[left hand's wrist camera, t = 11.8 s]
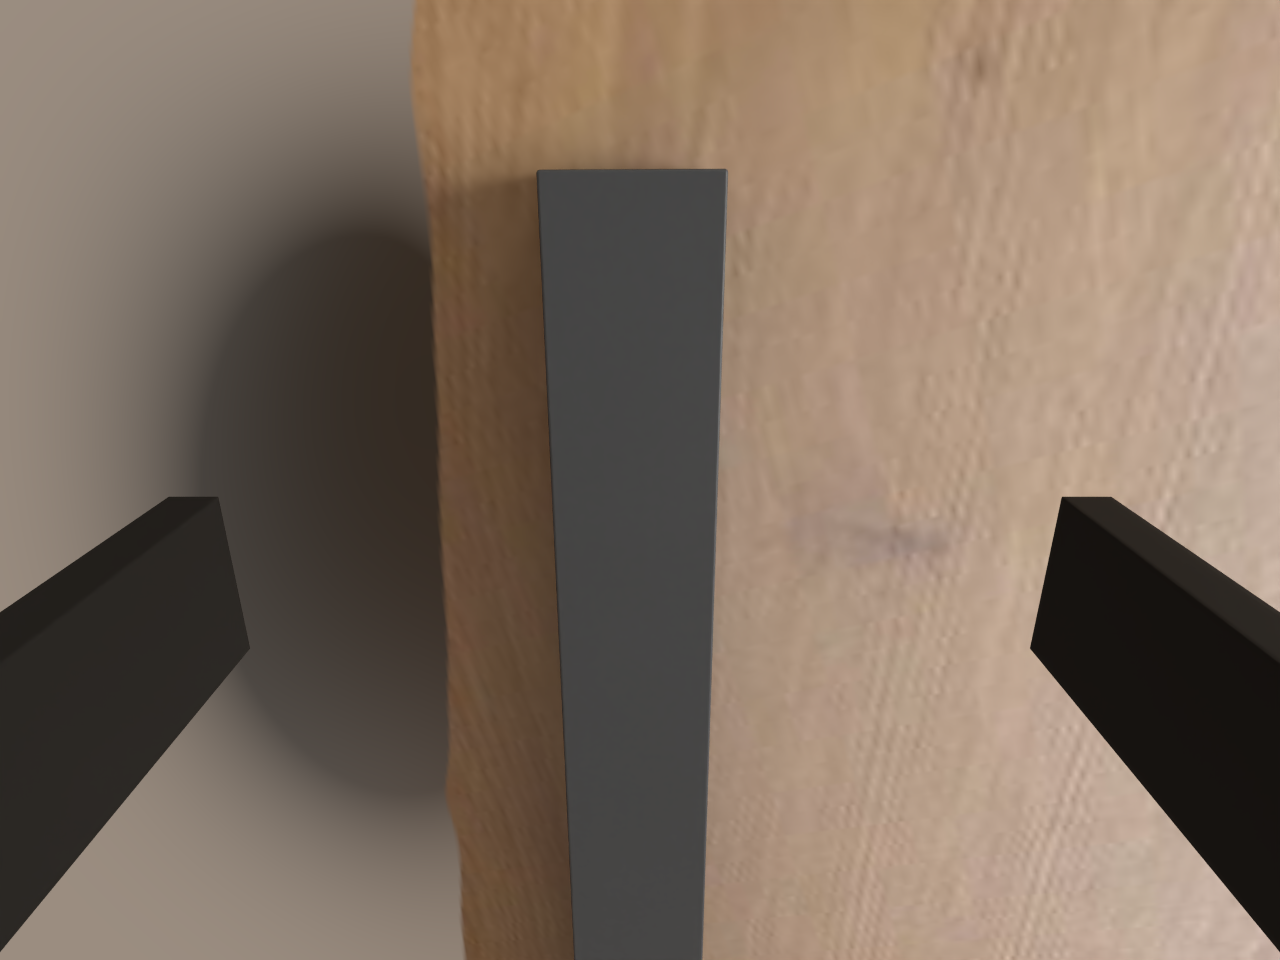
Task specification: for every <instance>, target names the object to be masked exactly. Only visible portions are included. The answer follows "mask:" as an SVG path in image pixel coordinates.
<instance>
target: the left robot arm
mask: <svg viewBox="0 0 1280 960" xmlns="http://www.w3.org/2000/svg"><path fill="white" fill-rule="evenodd" d="M249 649H250V646H249V642H248V637H247V632H246V627H245V623H244V618H243V613H242V609H241V604H240V599H239V594H238V589H237V585H236V580H235V575H234V570H233V565H232V561H231V556H230V551H229V547H228V542H227V537H226V532H225V528H224V523H223V518H222V513H221V509H220V504H219V499H218V497H168V498H167V499H165V500H164V501H162V502H161V503H159V504H158V505H156V506H155V507H153V508H152V509H150V510H149V511H147V512H146V513H145V514H143V515H142V516H140V517H139V518H137V519H136V520H134V521H133V522H131V523H130V524H129V525H127V526H126V527H124V528H123V529H121V530H120V531H118V532H117V533H115V534H114V535H113V536H111V537H110V538H108V539H107V540H105V541H104V542H102V543H101V544H99V545H98V546H96V547H95V548H94V549H92V550H91V551H89V552H88V553H86V554H85V555H83V556H82V557H80V558H79V559H77V560H76V561H75V562H73V563H72V564H70V565H69V566H67V567H66V568H64V569H63V570H61V571H60V572H58V573H57V574H55V575H54V576H53V577H51V578H50V579H48V580H47V581H45V582H44V583H42V584H41V585H39V586H38V587H37V588H35V589H34V590H32V591H31V592H29V593H28V594H26V595H25V596H23V597H22V598H20V599H19V600H17V601H16V602H15V603H13V604H12V605H10V606H9V607H7V608H6V609H4V610H3V611H1V612H0V951H1V950H2V949H3V948H4V947H5V945H6V944H7V943H8V942H9V940H10V939H11V938H12V937H13V936H14V934H15V933H16V932H17V931H18V930H19V928H20V927H21V926H22V925H23V924H24V922H25V921H26V920H27V919H28V917H29V916H30V915H31V914H32V913H33V911H34V910H35V909H36V908H37V906H38V905H39V904H40V903H41V902H42V900H43V899H44V898H45V897H46V896H47V894H48V893H49V892H50V891H51V889H52V888H53V887H54V886H55V885H56V883H57V882H58V881H59V880H60V879H61V877H62V876H63V875H64V874H65V872H66V871H67V870H68V869H69V868H70V866H71V865H72V864H73V863H74V862H75V860H76V859H77V858H78V857H79V855H80V854H81V853H82V852H83V851H84V849H85V848H86V847H87V846H88V844H89V843H90V842H91V841H92V840H93V838H94V837H95V836H96V835H97V833H98V832H99V831H100V830H101V829H102V828H103V826H104V825H105V824H106V823H107V821H108V820H109V819H110V818H111V817H112V815H113V814H114V813H115V812H116V810H117V809H118V808H119V807H120V806H121V804H122V803H123V802H124V801H125V800H126V798H127V797H128V796H129V795H130V793H131V792H132V791H133V790H134V789H135V787H136V786H137V785H138V784H139V783H140V781H141V780H142V779H143V778H144V776H145V775H146V774H147V773H148V772H149V770H150V769H151V768H152V767H153V766H154V764H155V763H156V762H157V761H158V759H159V758H160V757H161V756H162V755H163V753H164V752H165V751H166V750H167V748H168V747H169V746H170V745H171V744H172V742H173V741H174V740H175V739H176V738H177V736H178V735H179V734H180V733H181V731H182V730H183V729H184V728H185V727H186V725H187V724H188V723H189V722H190V720H191V719H192V718H193V717H194V716H195V714H196V713H197V712H198V711H199V710H200V708H201V707H202V706H203V705H204V704H205V702H206V701H207V700H208V699H209V697H210V696H211V695H212V694H213V693H214V691H215V690H216V689H217V688H218V687H219V685H220V684H221V683H222V682H223V680H224V679H225V678H226V677H227V676H228V674H229V673H230V672H231V671H232V669H233V668H234V667H235V666H236V665H237V663H238V662H239V661H240V660H241V659H242V657H243V656H244V655H245V654H246V652H247V651H248V650H249ZM1030 649H1031V650H1032V651H1033V653H1034V654H1035V655H1036V656H1037V657H1038V659H1039V660H1040V661H1041V662H1042V663H1043V665H1044V666H1045V667H1046V668H1047V670H1048V671H1049V672H1050V673H1051V674H1052V676H1053V677H1054V678H1055V679H1056V680H1057V682H1058V683H1059V684H1060V685H1061V687H1062V688H1063V689H1064V690H1065V691H1066V693H1067V694H1068V695H1069V696H1070V697H1071V699H1072V700H1073V701H1074V702H1075V704H1076V705H1077V706H1078V707H1079V708H1080V710H1081V711H1082V712H1083V713H1084V714H1085V716H1086V717H1087V718H1088V719H1089V721H1090V722H1091V723H1092V724H1093V725H1094V727H1095V728H1096V729H1097V730H1098V731H1099V733H1100V734H1101V735H1102V736H1103V738H1104V739H1105V740H1106V741H1107V742H1108V744H1109V745H1110V746H1111V747H1112V749H1113V750H1114V751H1115V752H1116V753H1117V755H1118V756H1119V757H1120V758H1121V759H1122V761H1123V762H1124V763H1125V764H1126V766H1127V767H1128V768H1129V769H1130V770H1131V772H1132V773H1133V774H1134V775H1135V776H1136V778H1137V779H1138V780H1139V781H1140V783H1141V784H1142V785H1143V786H1144V787H1145V789H1146V790H1147V791H1148V792H1149V793H1150V795H1151V796H1152V797H1153V798H1154V800H1155V801H1156V802H1157V803H1158V804H1159V806H1160V807H1161V808H1162V809H1163V810H1164V812H1165V813H1166V814H1167V815H1168V817H1169V818H1170V819H1171V820H1172V821H1173V823H1174V824H1175V825H1176V826H1177V828H1178V829H1179V830H1180V831H1181V832H1182V834H1183V835H1184V836H1185V837H1186V838H1187V840H1188V841H1189V842H1190V843H1191V845H1192V846H1193V847H1194V848H1195V849H1196V851H1197V852H1198V853H1199V854H1200V855H1201V857H1202V858H1203V859H1204V860H1205V862H1206V863H1207V864H1208V865H1209V866H1210V868H1211V869H1212V870H1213V871H1214V872H1215V874H1216V875H1217V876H1218V877H1219V879H1220V880H1221V881H1222V882H1223V883H1224V885H1225V886H1226V887H1227V888H1228V889H1229V891H1230V892H1231V893H1232V894H1233V896H1234V897H1235V898H1236V899H1237V900H1238V902H1239V903H1240V904H1241V905H1242V906H1243V908H1244V909H1245V910H1246V911H1247V913H1248V914H1249V915H1250V916H1251V917H1252V919H1253V920H1254V921H1255V922H1256V924H1257V925H1258V926H1259V927H1260V928H1261V930H1262V931H1263V932H1264V933H1265V934H1266V936H1267V937H1268V938H1269V939H1270V941H1271V942H1272V943H1273V944H1274V945H1275V947H1276V948H1277V949H1278V950H1279V951H1280V612H1279V611H1277V610H1276V609H1274V608H1273V607H1271V606H1270V605H1268V604H1267V603H1265V602H1264V601H1263V600H1261V599H1260V598H1258V597H1257V596H1255V595H1254V594H1252V593H1251V592H1249V591H1248V590H1246V589H1245V588H1244V587H1242V586H1241V585H1239V584H1238V583H1236V582H1235V581H1233V580H1232V579H1230V578H1229V577H1227V576H1226V575H1225V574H1223V573H1222V572H1220V571H1219V570H1217V569H1216V568H1214V567H1213V566H1211V565H1210V564H1208V563H1207V562H1206V561H1204V560H1203V559H1201V558H1200V557H1198V556H1197V555H1195V554H1194V553H1192V552H1191V551H1189V550H1188V549H1187V548H1185V547H1184V546H1182V545H1181V544H1179V543H1178V542H1176V541H1175V540H1173V539H1172V538H1170V537H1169V536H1168V535H1166V534H1165V533H1163V532H1162V531H1160V530H1159V529H1157V528H1156V527H1154V526H1153V525H1152V524H1150V523H1149V522H1147V521H1146V520H1144V519H1143V518H1141V517H1140V516H1138V515H1137V514H1135V513H1134V512H1133V511H1131V510H1130V509H1128V508H1127V507H1125V506H1124V505H1122V504H1121V503H1119V502H1118V501H1116V500H1115V499H1114V498H1112V497H1062V499H1061V504H1060V508H1059V513H1058V518H1057V523H1056V527H1055V532H1054V537H1053V542H1052V546H1051V551H1050V556H1049V561H1048V566H1047V570H1046V575H1045V580H1044V585H1043V589H1042V594H1041V599H1040V604H1039V608H1038V613H1037V618H1036V623H1035V627H1034V632H1033V637H1032V642H1031V646H1030Z"/></svg>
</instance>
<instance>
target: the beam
mask: <svg viewBox="0 0 1280 960" xmlns="http://www.w3.org/2000/svg"><path fill="white" fill-rule="evenodd" d="M727 186H728V171H727V170H726V169H606V170H538V171H537V193H538V214H539V234H540V255H541V276H542V297H543V318H544V339H545V359H546V380H547V401H548V422H549V443H550V464H551V485H552V505H553V526H554V547H555V568H556V589H557V610H558V630H559V651H560V672H561V693H562V714H563V735H564V755H565V776H566V797H567V818H568V839H569V860H570V880H571V901H572V922H573V943H574V960H702V951H703V920H704V890H705V859H706V828H707V798H708V767H709V737H710V706H711V675H712V645H713V614H714V584H715V553H716V523H717V492H718V461H719V431H720V400H721V370H722V339H723V308H724V278H725V247H726V217H727Z"/></svg>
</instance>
